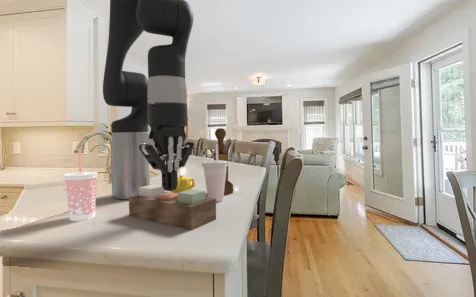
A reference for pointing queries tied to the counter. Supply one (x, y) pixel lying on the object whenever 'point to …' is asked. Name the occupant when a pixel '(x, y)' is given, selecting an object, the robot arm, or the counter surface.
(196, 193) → the sage key
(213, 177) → the smoothie
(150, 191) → the offwhite key
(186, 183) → the teapot
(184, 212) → the key panel
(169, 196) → the terracotta key
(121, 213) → the counter surface
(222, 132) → the mortar and pestle
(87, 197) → the beverage cup
